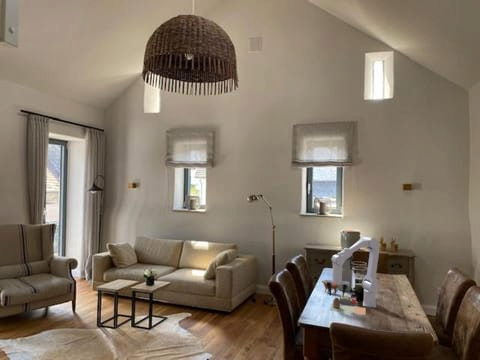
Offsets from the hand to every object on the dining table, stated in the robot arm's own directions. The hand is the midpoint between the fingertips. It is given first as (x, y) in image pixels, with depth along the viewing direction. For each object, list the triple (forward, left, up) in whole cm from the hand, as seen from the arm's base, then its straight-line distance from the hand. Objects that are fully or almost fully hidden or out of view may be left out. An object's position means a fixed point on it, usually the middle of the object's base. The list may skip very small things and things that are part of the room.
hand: (336, 295), depth 228 cm
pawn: (0, 0, -7) cm, 7 cm away
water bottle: (-44, +3, -8) cm, 44 cm away
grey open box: (-12, +7, -8) cm, 16 cm away
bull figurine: (-32, -7, -8) cm, 33 cm away
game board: (0, +7, -8) cm, 10 cm away
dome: (-12, +5, -7) cm, 14 cm away
